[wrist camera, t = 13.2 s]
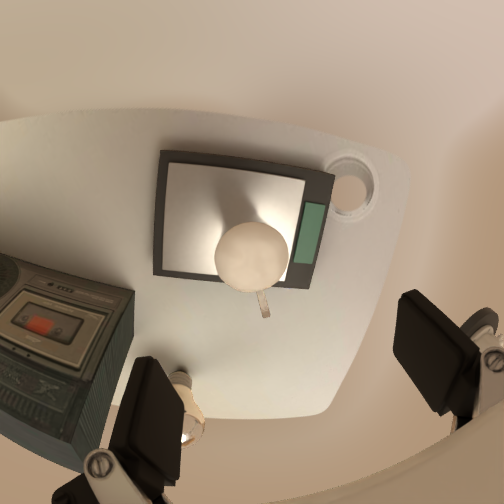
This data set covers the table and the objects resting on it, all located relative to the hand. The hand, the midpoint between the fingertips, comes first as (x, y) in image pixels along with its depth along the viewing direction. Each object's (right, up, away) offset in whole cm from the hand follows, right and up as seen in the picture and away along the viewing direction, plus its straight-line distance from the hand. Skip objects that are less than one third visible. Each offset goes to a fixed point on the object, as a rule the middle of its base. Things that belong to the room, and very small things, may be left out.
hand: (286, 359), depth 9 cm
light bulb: (-11, -13, +25) cm, 30 cm away
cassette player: (-29, -1, +18) cm, 34 cm away
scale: (-3, +7, +18) cm, 19 cm away
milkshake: (-2, +6, +15) cm, 16 cm away
